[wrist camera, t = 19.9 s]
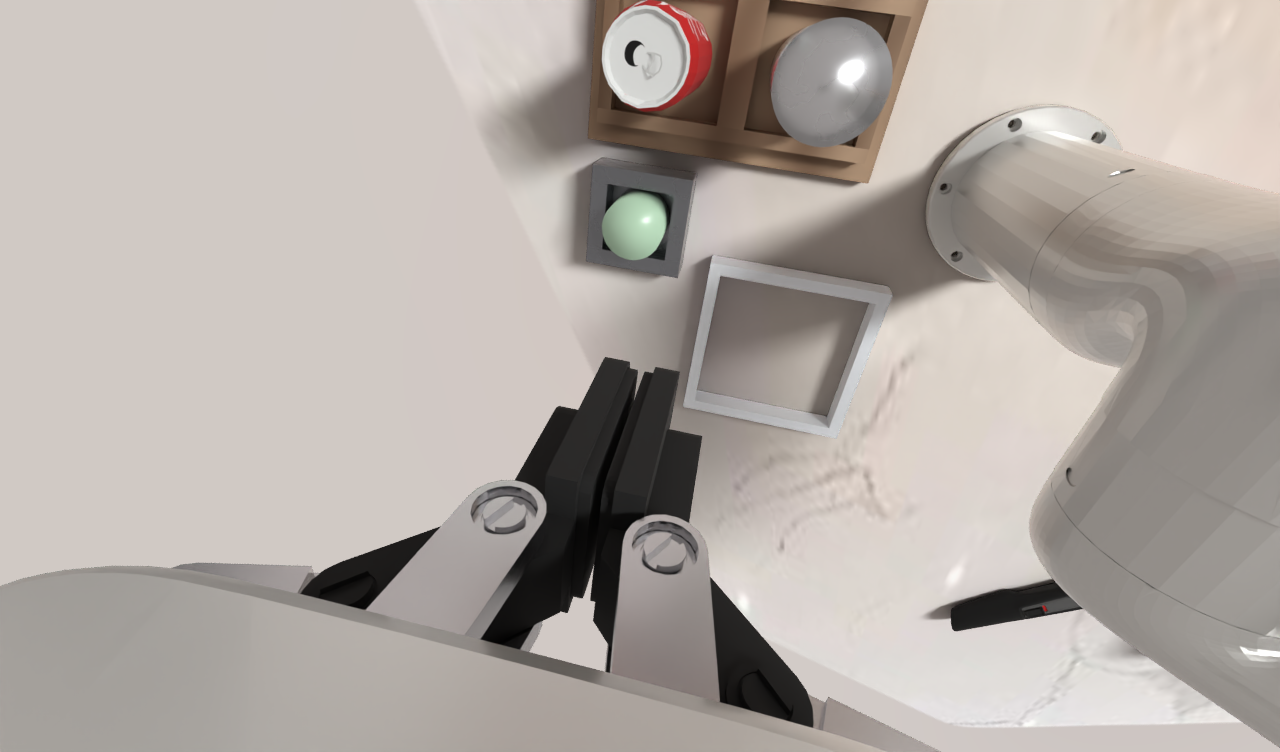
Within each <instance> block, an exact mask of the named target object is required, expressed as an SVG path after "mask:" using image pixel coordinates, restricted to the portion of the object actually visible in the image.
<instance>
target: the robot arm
mask: <svg viewBox="0 0 1280 752" xmlns="http://www.w3.org/2000/svg"><path fill="white" fill-rule="evenodd" d="M1011 120H1013V121H1014V123H1013V125H1012V126H1011V127H1008V123H1009V122H1010V121H1011ZM1095 132H1096V136H1095V137H1094V138H1093V139H1091V138H1092V136H1093V134H1094V133H1095ZM944 183H945V184H946V187H945V188H944V189H940V186H941V185H942V184H944ZM926 224H927V230H928V235H929V237H930V239H931V241H932V244H933V246H934V248H935V249H936V250H937V252H938V253H939V254H940V256H941V257H942V258H943V259H944V260H945V261H946V262H947V263H948V264H949V265H950V266H951V267H953V268H954V269H956V270H958V271H959V272H961V273H962V274H965V275H968V276H970V277H973V278H975V279H980V280H986V281H992V282H998V283H999V284H1000V285H1001V286H1002V287H1003V288H1004V289H1005V290H1006V291H1007V292H1008V293H1009V294H1010V295H1011V296H1012V297H1013V298H1014V299H1015V300H1016V301H1017V302H1018V303H1019V304H1020V305H1021V306H1022V307H1023V308H1024V309H1025V310H1026V311H1027V312H1028V313H1029V314H1030V315H1031V316H1032V317H1033V318H1034V319H1035V320H1036V321H1037V322H1038V323H1039V324H1040V325H1041V326H1042V327H1043V328H1044V329H1045V330H1046V331H1047V332H1048V333H1049V334H1050V335H1051V336H1052V337H1053V338H1054V339H1055V340H1057V341H1058V342H1059V343H1060V344H1061V345H1063V346H1064V347H1065V348H1067V349H1068V350H1070V351H1071V352H1073V353H1075V354H1077V355H1079V356H1081V357H1083V358H1085V359H1088V360H1090V361H1093V362H1097V363H1100V364H1104V365H1109V366H1113V367H1118V368H1121V369H1120V370H1119V372H1118V374H1117V375H1116V377H1115V378H1114V379H1113V381H1112V382H1111V384H1110V385H1109V387H1108V388H1107V390H1106V391H1105V393H1104V394H1103V396H1102V400H1101V401H1100V403H1099V404H1098V406H1097V407H1096V409H1095V410H1094V412H1093V413H1092V415H1091V416H1090V417H1089V419H1088V420H1087V422H1086V423H1085V425H1084V426H1083V428H1082V429H1081V431H1080V432H1079V433H1078V435H1077V436H1076V438H1075V439H1074V441H1073V442H1072V444H1071V445H1070V447H1069V448H1068V449H1067V451H1066V452H1065V454H1064V455H1063V457H1062V458H1061V460H1060V461H1059V463H1058V464H1057V465H1056V467H1055V468H1054V471H1053V472H1052V474H1051V475H1050V477H1049V478H1048V480H1047V481H1046V483H1045V484H1044V486H1043V488H1042V490H1041V491H1040V493H1039V495H1038V497H1037V499H1036V500H1035V503H1034V505H1033V508H1032V512H1031V516H1030V521H1029V532H1030V537H1031V542H1032V545H1033V548H1034V550H1035V552H1036V554H1037V556H1038V558H1039V560H1040V562H1041V564H1042V565H1043V566H1044V568H1045V569H1046V571H1047V572H1048V573H1049V575H1050V576H1051V577H1052V578H1053V580H1054V581H1055V582H1056V583H1057V584H1058V585H1059V586H1060V587H1061V588H1062V590H1063V591H1064V592H1065V593H1066V594H1068V595H1069V596H1070V597H1071V598H1072V599H1073V600H1074V601H1075V602H1076V603H1077V604H1078V605H1079V606H1081V607H1082V608H1083V609H1084V610H1085V611H1087V612H1088V613H1089V614H1090V615H1091V616H1093V617H1094V618H1095V619H1096V620H1098V621H1099V622H1100V623H1101V624H1103V625H1104V626H1105V627H1106V628H1108V629H1109V630H1110V631H1112V632H1113V633H1115V634H1116V635H1117V636H1119V637H1120V638H1121V639H1123V640H1124V641H1125V642H1127V643H1128V644H1130V645H1131V646H1133V647H1134V648H1135V649H1137V650H1138V651H1140V652H1141V653H1143V654H1144V655H1146V656H1147V657H1148V658H1150V659H1151V660H1153V661H1154V662H1156V663H1157V664H1158V665H1160V666H1161V667H1163V668H1164V669H1166V670H1167V671H1169V672H1170V673H1171V674H1173V675H1174V676H1176V677H1177V678H1179V679H1180V680H1182V681H1183V682H1185V683H1186V684H1187V685H1189V686H1190V687H1192V688H1193V689H1195V690H1196V691H1198V692H1199V693H1201V694H1202V695H1204V696H1205V697H1206V698H1208V699H1209V700H1211V701H1212V702H1214V703H1215V704H1217V705H1218V706H1220V707H1221V708H1223V709H1224V710H1225V711H1227V712H1228V713H1230V714H1231V715H1233V716H1234V717H1236V718H1237V719H1239V720H1240V721H1241V722H1243V723H1244V724H1246V725H1248V726H1249V727H1250V728H1252V729H1253V730H1255V731H1256V732H1258V733H1259V734H1260V735H1262V736H1263V737H1265V738H1266V739H1268V740H1269V741H1271V742H1272V743H1274V744H1275V745H1277V746H1278V747H1279V748H1280V194H1279V193H1274V192H1269V191H1265V190H1260V189H1256V188H1252V187H1249V186H1245V185H1241V184H1237V183H1234V182H1230V181H1227V180H1223V179H1220V178H1216V177H1213V176H1209V175H1206V174H1201V173H1197V172H1193V171H1190V170H1187V169H1183V168H1180V167H1176V166H1173V165H1170V164H1166V163H1163V162H1159V161H1156V160H1153V159H1149V158H1146V157H1143V156H1139V155H1136V154H1132V153H1129V152H1126V151H1123V149H1122V146H1121V143H1120V141H1119V140H1118V138H1117V137H1116V135H1115V133H1114V132H1113V130H1112V129H1111V128H1110V127H1109V126H1108V125H1106V124H1105V123H1104V122H1103V121H1102V120H1101V119H1100V118H1098V117H1096V116H1094V115H1092V114H1090V113H1088V112H1086V111H1083V110H1080V109H1076V108H1072V107H1068V106H1060V105H1036V106H1030V107H1025V108H1021V109H1017V110H1013V111H1010V112H1008V113H1006V114H1003V115H1001V116H998V117H996V118H994V119H992V120H990V121H989V122H987V123H985V124H984V125H982V126H980V127H979V128H977V129H976V130H974V131H973V132H972V133H971V134H970V135H968V136H967V137H966V138H965V139H963V140H962V141H961V142H960V143H959V144H958V145H957V146H956V148H955V149H954V150H953V151H952V152H951V153H950V154H949V155H948V156H947V158H946V159H945V161H944V162H943V164H942V166H941V167H940V169H939V170H938V172H937V174H936V176H935V178H934V180H933V183H932V185H931V187H930V190H929V195H928V199H927V203H926ZM955 251H957V253H956V254H955V255H954V256H951V255H952V253H953V252H955ZM679 373H680V372H678V371H673V370H668V369H663V368H658V367H655V370H654V373H650V372H644V375H643V378H642V380H641V383H640V386H639V389H638V391H637V394H636V397H635V390H636V382H637V375H638V370H635V369H630V362H628V361H623V360H618V359H613V358H608V357H605V358H604V360H603V362H602V364H601V366H600V368H599V370H598V372H597V374H596V376H595V378H594V380H593V382H592V384H591V386H590V388H589V390H588V392H587V394H586V396H585V398H584V400H583V402H582V404H581V406H580V408H579V410H576V409H571V408H566V407H561V406H559V407H557V408H556V409H555V411H554V413H553V414H552V416H551V418H550V419H549V421H548V423H547V425H546V426H545V428H544V430H543V432H542V433H541V435H540V437H539V439H538V441H537V442H536V444H535V446H534V448H533V449H532V451H531V453H530V455H529V456H528V458H527V460H526V462H525V463H524V465H523V467H522V469H521V470H520V472H519V474H518V476H517V477H516V479H515V480H501V481H496V482H492V483H488V484H486V485H484V486H482V487H479V488H477V489H476V490H475V491H474V492H472V494H470V495H469V496H468V497H467V498H466V499H465V500H464V501H463V502H462V504H461V505H460V506H459V507H458V508H457V509H456V510H455V511H454V512H453V514H452V515H451V516H450V517H449V518H448V519H447V520H446V521H445V522H444V524H443V525H442V526H441V527H438V528H435V529H432V530H430V531H427V532H424V533H421V534H418V535H415V536H413V537H410V538H407V539H404V540H401V541H399V542H396V543H393V544H390V545H387V546H385V547H382V548H379V549H376V550H373V551H371V552H368V553H365V554H363V555H359V556H357V557H354V558H351V559H348V560H345V561H343V562H340V563H338V564H336V565H333V566H331V567H329V568H327V569H325V570H324V571H322V572H321V573H314V572H313V569H312V566H285V565H254V564H253V565H252V564H220V563H192V564H183V565H179V566H177V567H173V568H162V567H152V566H105V567H94V568H83V569H72V570H63V571H57V572H51V573H45V574H40V575H36V576H32V577H27V578H23V579H20V580H17V581H14V582H11V583H8V584H5V585H2V586H0V752H941V751H938V750H937V749H935V748H932V747H930V746H928V745H926V744H924V743H922V742H920V741H918V740H916V739H914V738H912V737H910V736H908V735H906V734H904V733H902V732H899V731H898V730H895V729H893V728H891V727H889V726H887V725H885V724H883V723H881V722H879V721H877V720H875V719H873V718H871V717H869V716H867V715H865V714H862V713H861V712H858V711H856V710H854V709H852V708H850V707H848V706H846V705H844V704H842V703H840V702H838V701H836V700H833V699H831V698H830V697H828V699H827V700H826V702H823V701H821V700H819V699H817V698H814V697H812V696H810V695H808V693H807V691H806V689H805V688H804V686H803V685H802V684H801V682H800V681H799V679H798V678H797V676H796V675H795V674H794V673H793V672H792V671H791V670H790V668H789V667H788V666H787V665H786V664H785V663H784V661H783V660H782V659H781V658H780V657H779V656H778V655H777V653H776V652H775V651H774V650H773V649H772V648H771V646H769V644H768V643H767V642H766V641H765V640H764V638H763V637H762V636H761V635H760V634H759V633H758V631H757V630H756V629H755V628H754V627H753V626H752V625H751V623H750V622H749V621H748V620H747V619H746V618H745V616H744V615H743V614H742V613H741V612H740V611H739V610H738V608H737V607H736V606H735V605H734V604H733V603H732V601H731V600H730V599H729V598H728V597H727V596H726V595H725V593H724V592H723V591H722V590H721V589H720V588H719V586H718V585H717V584H716V583H715V582H714V581H713V580H712V578H711V577H710V571H709V558H708V550H707V546H706V542H705V540H704V538H703V537H702V535H701V534H700V532H699V531H698V530H697V529H696V528H694V527H693V526H692V525H691V524H690V523H689V518H690V512H691V505H692V499H693V492H694V486H695V479H696V473H697V467H698V460H699V454H700V447H701V440H702V436H699V435H694V434H689V433H684V432H680V431H675V430H670V429H669V428H670V423H671V417H672V412H673V406H674V401H675V396H676V390H677V385H678V379H679ZM634 397H635V400H634ZM593 566H594V571H593V580H592V589H591V601H594V602H595V610H594V618H593V621H594V623H595V624H596V626H597V627H598V629H599V631H600V632H601V634H602V635H603V637H604V639H605V640H606V642H607V643H608V646H607V653H606V663H605V672H603V671H600V670H596V669H592V668H588V667H584V666H580V665H576V664H572V663H568V662H565V661H561V660H557V659H553V658H549V657H546V656H542V655H537V654H533V653H530V652H529V651H530V649H531V648H532V646H533V644H534V642H535V640H536V639H537V637H538V635H539V632H540V629H541V627H542V621H543V620H545V619H547V618H549V617H551V616H553V615H555V614H557V613H559V612H560V611H562V612H565V613H568V610H569V607H570V604H571V602H572V599H573V596H574V597H578V598H583V596H584V593H585V591H586V587H587V584H588V581H589V578H590V575H591V572H592V569H593Z"/></svg>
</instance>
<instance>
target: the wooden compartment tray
mask: <svg viewBox="0 0 1280 752" xmlns="http://www.w3.org/2000/svg"><path fill="white" fill-rule="evenodd" d="M640 1H645V0H596V15H595V31H594V47H593V63H592V80H591V96H590V112H589V128H588V138H589V139H595V140H601V141H607V142H614V143H620V144H626V145H632V146H638V147H645V148H651V149H657V150H663V151H669V152H676V153H682V154H688V155H694V156H701V157H707V158H713V159H719V160H725V161H732V162H738V163H744V164H750V165H756V166H763V167H769V168H775V169H781V170H788V171H794V172H800V173H806V174H812V175H819V176H825V177H831V178H837V179H843V180H850V181H856V182H862V183H869V180H870V177H871V173H872V170H873V167H874V164H875V161H876V158H877V155H878V152H879V149H880V146H881V143H882V140H883V137H884V134H885V131H886V128H887V125H888V122H889V119H890V116H891V113H892V110H893V106H894V103H895V100H896V97H897V94H898V91H899V88H900V85H901V82H902V79H903V76H904V73H905V70H906V67H907V64H908V61H909V58H910V55H911V52H912V49H913V46H914V43H915V39H916V36H917V33H918V30H919V27H920V24H921V21H922V18H923V15H924V12H925V9H926V6H927V3H928V0H654V1H661V2H665V3H667V4H670V5H672V6H674V7H677V8H679V9H681V10H684V11H686V12H687V13H688V14H690V15H691V16H693V17H694V18H696V19H697V20H698V21H700V22H701V23H703V25H704V28H705V30H706V32H707V35H708V37H709V39H710V42H711V44H712V60H711V66H710V69H709V72H708V74H707V77H706V78H705V80H704V81H703V82H702V84H701V85H700V87H698V88H697V89H696V90H695V91H694V92H692V93H691V94H690V95H688V96H687V97H685V98H684V99H682V100H681V101H679V102H678V103H676V104H675V105H673V106H671V107H668V108H666V109H664V110H662V111H648V112H643V111H641V110H638V109H636V108H633V107H631V106H628V105H626V104H625V103H624V102H623V101H621V100H620V98H619V97H618V96H617V95H616V93H615V92H614V91H613V90H612V88H611V87H610V86H609V84H608V82H607V79H606V77H605V74H604V71H603V64H602V49H603V43H604V40H605V37H606V34H607V31H608V29H609V28H610V26H611V24H612V23H613V21H614V19H615V17H617V16H618V15H619V14H620V13H621V12H622V11H623V10H624V9H625V8H627V7H629V6H631V5H633V4H634V3H636V2H640ZM838 17H845V18H853V19H857V20H860V21H862V22H864V23H866V24H868V25H870V26H871V27H872V28H873V29H875V30H876V31H877V32H878V33H879V34H880V36H881V37H882V38H883V40H884V41H885V43H886V45H887V47H888V50H889V52H890V56H891V60H892V68H893V71H892V84H891V89H890V92H889V96H888V98H887V101H886V103H885V105H884V107H883V109H882V111H881V112H880V114H879V115H878V117H877V118H876V119H875V121H874V122H873V123H872V124H871V125H870V126H869V127H868V128H867V129H866V130H865V131H864V132H862V133H861V134H860V135H858V136H857V137H855V138H853V139H852V140H850V141H847V142H845V143H843V144H839V145H836V146H831V147H814V146H810V145H806V144H803V143H801V142H799V141H797V140H795V139H794V138H793V137H791V136H790V135H789V134H788V133H787V132H786V131H785V130H784V129H783V127H782V126H781V125H780V123H779V121H778V119H777V117H776V114H775V112H774V108H773V103H772V98H771V92H770V85H769V75H770V69H771V65H772V62H773V60H774V57H775V55H776V53H777V51H778V50H779V48H780V47H781V45H782V44H783V43H784V42H785V41H786V40H787V39H788V38H789V37H790V36H791V35H793V34H794V33H796V32H797V31H799V30H801V29H803V28H806V27H808V26H810V25H813V24H815V23H818V22H820V21H823V20H826V19H830V18H838Z"/></svg>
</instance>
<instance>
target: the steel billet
mask: <svg viewBox="0 0 1280 752" xmlns="http://www.w3.org/2000/svg"><path fill="white" fill-rule="evenodd" d="M892 71H893V68H892V60H891V56H890V52H889V50H888V47H887V45H886V43H885V41H884V40H883V38H882V37H881V36H880V34H879V33H878V32H877V31H876V30H875V29H873V28H872V27H871V26H870V25H868V24H866V23H864V22H862V21H860V20H857V19H853V18H845V17H838V18H830V19H826V20H823V21H820V22H818V23H815V24H813V25H810V26H808V27H806V28H803V29H801V30H799V31H797V32H796V33H794V34H793V35H791V36H790V37H789V38H788V39H787V40H786V41H785V42H784V43H783V44H782V45H781V47H780V48H779V50H778V51H777V53H776V55H775V57H774V60H773V62H772V65H771V69H770V75H769V85H770V92H771V98H772V103H773V108H774V112H775V114H776V117H777V119H778V121H779V123H780V125H781V126H782V127H783V129H784V130H785V131H786V132H787V133H788V134H789V135H790V136H791V137H793V138H794V139H795V140H797V141H799V142H801V143H803V144H806V145H810V146H814V147H831V146H836V145H839V144H843V143H845V142H847V141H850V140H852V139H853V138H855V137H857V136H858V135H860V134H861V133H862V132H864V131H865V130H866V129H867V128H868V127H869V126H870V125H871V124H872V123H873V122H874V121H875V119H876V118H877V117H878V115H879V114H880V112H881V111H882V109H883V107H884V105H885V103H886V101H887V98H888V96H889V92H890V89H891V84H892Z"/></svg>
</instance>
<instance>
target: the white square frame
mask: <svg viewBox="0 0 1280 752" xmlns="http://www.w3.org/2000/svg"><path fill="white" fill-rule="evenodd" d="M720 276H724V277H730V278H735V279H741V280H746V281H752V282H757V283H763V284H768V285H774V286H779V287H785V288H790V289H796V290H801V291H807V292H812V293H818V294H823V295H829V296H834V297H840V298H845V299H851V300H856V301H862V302H867V303H869V305H868V307H867V310H866V313H865V315H864V318H863V321H862V323H861V326H860V329H859V332H858V334H857V337H856V340H855V342H854V345H853V348H852V350H851V353H850V356H849V359H848V361H847V364H846V367H845V369H844V372H843V375H842V377H841V380H840V383H839V385H838V388H837V391H836V394H835V396H834V399H833V402H832V404H831V407H830V410H829V412H828V415H827V416H823V415H818V414H813V413H808V412H803V411H798V410H793V409H788V408H784V407H779V406H774V405H769V404H764V403H759V402H754V401H749V400H744V399H739V398H734V397H729V396H724V395H720V394H715V393H710V392H705V391H700V390H697V386H698V381H699V377H700V372H701V367H702V362H703V357H704V353H705V348H706V343H707V338H708V333H709V328H710V324H711V319H712V314H713V309H714V304H715V300H716V295H717V290H718V285H719V280H720ZM892 296H893V295H892V293H891V291H890V289H889V287H888V286H884V285H879V284H873V283H868V282H862V281H856V280H851V279H845V278H840V277H834V276H828V275H823V274H817V273H811V272H806V271H800V270H795V269H789V268H783V267H778V266H772V265H767V264H761V263H755V262H750V261H744V260H739V259H733V258H727V257H722V256H716V255H713V256H712V260H711V265H710V270H709V275H708V280H707V285H706V291H705V296H704V301H703V306H702V311H701V316H700V321H699V326H698V332H697V337H696V342H695V347H694V352H693V357H692V362H691V367H690V373H689V378H688V383H687V388H686V393H685V398H684V403H683V407H686V408H691V409H695V410H700V411H705V412H710V413H715V414H720V415H725V416H729V417H734V418H739V419H744V420H749V421H754V422H758V423H763V424H768V425H773V426H778V427H783V428H787V429H792V430H797V431H802V432H807V433H812V434H816V435H821V436H826V437H831V438H836V439H837V436H838V434H839V431H840V429H841V426H842V423H843V421H844V418H845V416H846V413H847V411H848V408H849V406H850V403H851V401H852V398H853V395H854V393H855V390H856V388H857V385H858V383H859V380H860V378H861V375H862V373H863V370H864V367H865V365H866V362H867V360H868V357H869V355H870V352H871V350H872V347H873V345H874V342H875V339H876V337H877V334H878V332H879V329H880V327H881V324H882V322H883V319H884V317H885V314H886V311H887V309H888V306H889V304H890V301H891V299H892Z"/></svg>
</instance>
